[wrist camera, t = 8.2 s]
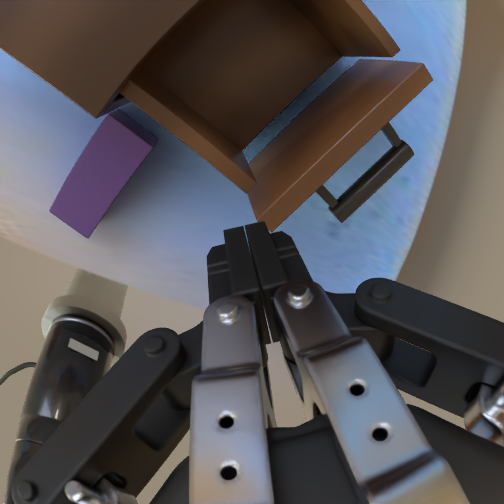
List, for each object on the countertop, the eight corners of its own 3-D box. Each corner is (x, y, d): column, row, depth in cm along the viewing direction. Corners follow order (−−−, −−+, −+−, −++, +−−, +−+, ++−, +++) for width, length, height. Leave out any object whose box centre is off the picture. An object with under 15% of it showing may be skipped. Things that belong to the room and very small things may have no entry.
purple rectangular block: (96, 223, 24) (88, 239, 22) (60, 197, 22) (48, 211, 20) (158, 139, 21) (153, 147, 19) (118, 108, 19) (108, 113, 17)
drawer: (401, 114, 21) (464, 140, 15) (291, 218, 25) (322, 275, 19) (231, -61, 12) (246, -112, 6) (100, 63, 16) (52, 64, 10)
